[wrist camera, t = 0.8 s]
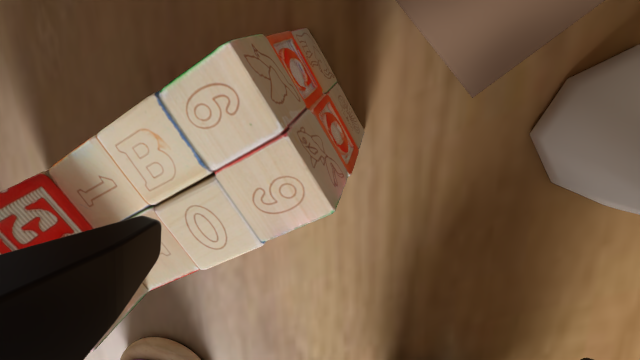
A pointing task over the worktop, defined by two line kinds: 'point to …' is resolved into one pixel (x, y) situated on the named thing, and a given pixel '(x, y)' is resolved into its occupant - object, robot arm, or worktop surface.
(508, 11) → the plinth
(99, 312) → the robot arm
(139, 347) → the stacking toy
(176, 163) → the stack of blocks
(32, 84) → the worktop surface
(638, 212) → the flask
